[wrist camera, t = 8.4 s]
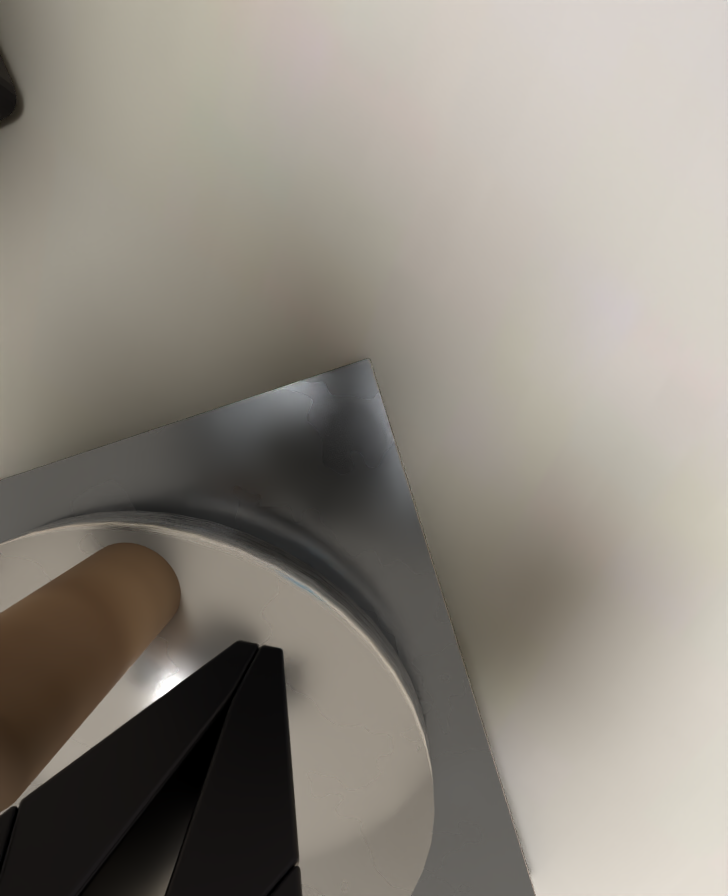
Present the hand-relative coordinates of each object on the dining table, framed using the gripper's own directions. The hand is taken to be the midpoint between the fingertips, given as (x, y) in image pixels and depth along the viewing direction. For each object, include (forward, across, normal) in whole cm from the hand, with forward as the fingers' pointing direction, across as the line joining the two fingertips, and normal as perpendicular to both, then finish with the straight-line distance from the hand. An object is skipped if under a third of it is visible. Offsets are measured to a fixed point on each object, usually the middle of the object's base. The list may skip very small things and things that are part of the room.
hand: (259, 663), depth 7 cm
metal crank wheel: (+3, +3, +8) cm, 9 cm away
